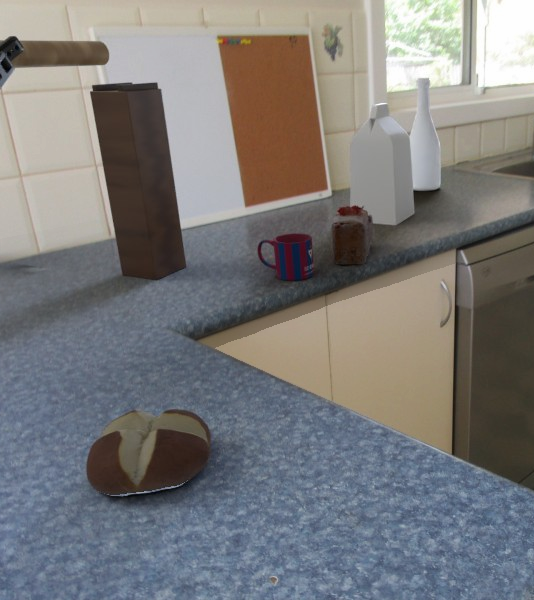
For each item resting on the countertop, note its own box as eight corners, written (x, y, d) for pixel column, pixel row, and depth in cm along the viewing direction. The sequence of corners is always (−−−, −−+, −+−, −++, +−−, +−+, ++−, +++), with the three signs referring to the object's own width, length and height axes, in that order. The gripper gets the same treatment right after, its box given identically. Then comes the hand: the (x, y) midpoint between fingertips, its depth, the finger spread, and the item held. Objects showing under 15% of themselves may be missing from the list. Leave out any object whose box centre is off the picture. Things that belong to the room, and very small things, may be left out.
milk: (395, 225, 151) (393, 106, 142) (350, 221, 155) (345, 106, 146) (414, 213, 161) (413, 102, 152) (371, 210, 165) (367, 101, 156)
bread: (72, 504, 59) (61, 457, 57) (122, 435, 70) (114, 393, 68) (197, 502, 59) (189, 454, 57) (227, 433, 70) (222, 391, 68)
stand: (156, 280, 118) (125, 85, 106) (122, 275, 121) (88, 84, 109) (186, 267, 124) (160, 82, 113) (153, 262, 127) (125, 82, 116)
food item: (335, 245, 136) (332, 198, 132) (374, 244, 136) (372, 197, 133) (330, 266, 123) (327, 214, 120) (373, 265, 123) (371, 213, 120)
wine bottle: (447, 187, 190) (447, 77, 180) (426, 192, 184) (425, 79, 173) (421, 183, 196) (420, 77, 186) (400, 188, 190) (398, 78, 179)
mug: (304, 282, 115) (301, 244, 112) (253, 277, 118) (249, 240, 115) (320, 270, 121) (317, 234, 118) (271, 266, 124) (267, 231, 121)
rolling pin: (-4, 67, 88) (-12, 39, 87) (-22, 69, 90) (-30, 41, 89) (111, 64, 106) (106, 40, 104) (95, 65, 107) (90, 42, 106)
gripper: (-72, 90, 76) (26, 14, 86) (-146, 89, 82) (-46, 18, 91) (-27, 143, 82) (60, 66, 91) (-100, 140, 87) (-10, 67, 97)
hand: (7, 42), depth 91 cm, fingers closed on rolling pin, 3 cm apart
